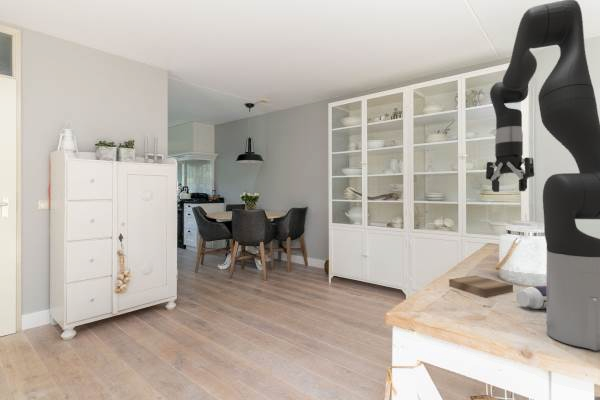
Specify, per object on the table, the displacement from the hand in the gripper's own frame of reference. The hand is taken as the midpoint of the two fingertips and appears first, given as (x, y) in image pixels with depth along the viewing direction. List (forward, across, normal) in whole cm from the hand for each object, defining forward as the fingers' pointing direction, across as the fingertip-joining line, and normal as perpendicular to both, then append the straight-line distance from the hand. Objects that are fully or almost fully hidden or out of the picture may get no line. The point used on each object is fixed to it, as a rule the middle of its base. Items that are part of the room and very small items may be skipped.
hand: (508, 191), depth 104 cm
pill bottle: (+27, -20, +12) cm, 36 cm away
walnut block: (+31, -2, +16) cm, 35 cm away
